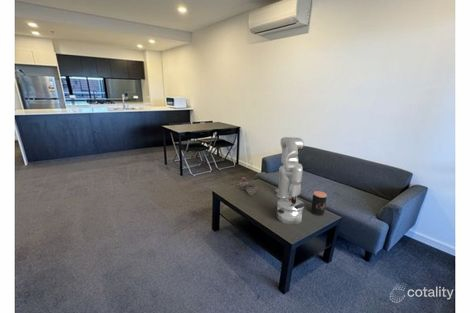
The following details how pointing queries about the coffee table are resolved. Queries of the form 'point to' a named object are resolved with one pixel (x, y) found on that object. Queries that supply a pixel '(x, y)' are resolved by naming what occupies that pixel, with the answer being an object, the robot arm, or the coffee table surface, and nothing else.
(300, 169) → the robot arm
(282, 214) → the cooker pot
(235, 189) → the coffee table surface
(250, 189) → the pottery
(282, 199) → the cooker lid
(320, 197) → the coffee jar
